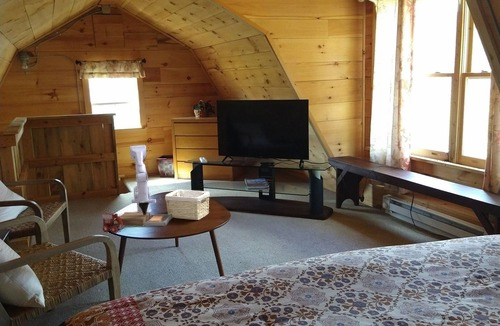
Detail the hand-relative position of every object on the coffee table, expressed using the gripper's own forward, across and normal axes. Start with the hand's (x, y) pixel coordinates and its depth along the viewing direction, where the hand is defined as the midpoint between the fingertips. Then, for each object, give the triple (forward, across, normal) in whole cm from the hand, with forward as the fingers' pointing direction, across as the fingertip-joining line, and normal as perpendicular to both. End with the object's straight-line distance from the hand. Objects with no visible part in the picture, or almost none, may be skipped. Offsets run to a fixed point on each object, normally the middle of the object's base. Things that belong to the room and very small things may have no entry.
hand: (144, 214), depth 260 cm
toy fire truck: (+5, -14, -15) cm, 21 cm away
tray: (+5, +8, 0) cm, 9 cm away
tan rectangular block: (+2, +7, 0) cm, 7 cm away
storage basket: (+5, +24, +12) cm, 27 cm away
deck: (+5, -7, 0) cm, 8 cm away
